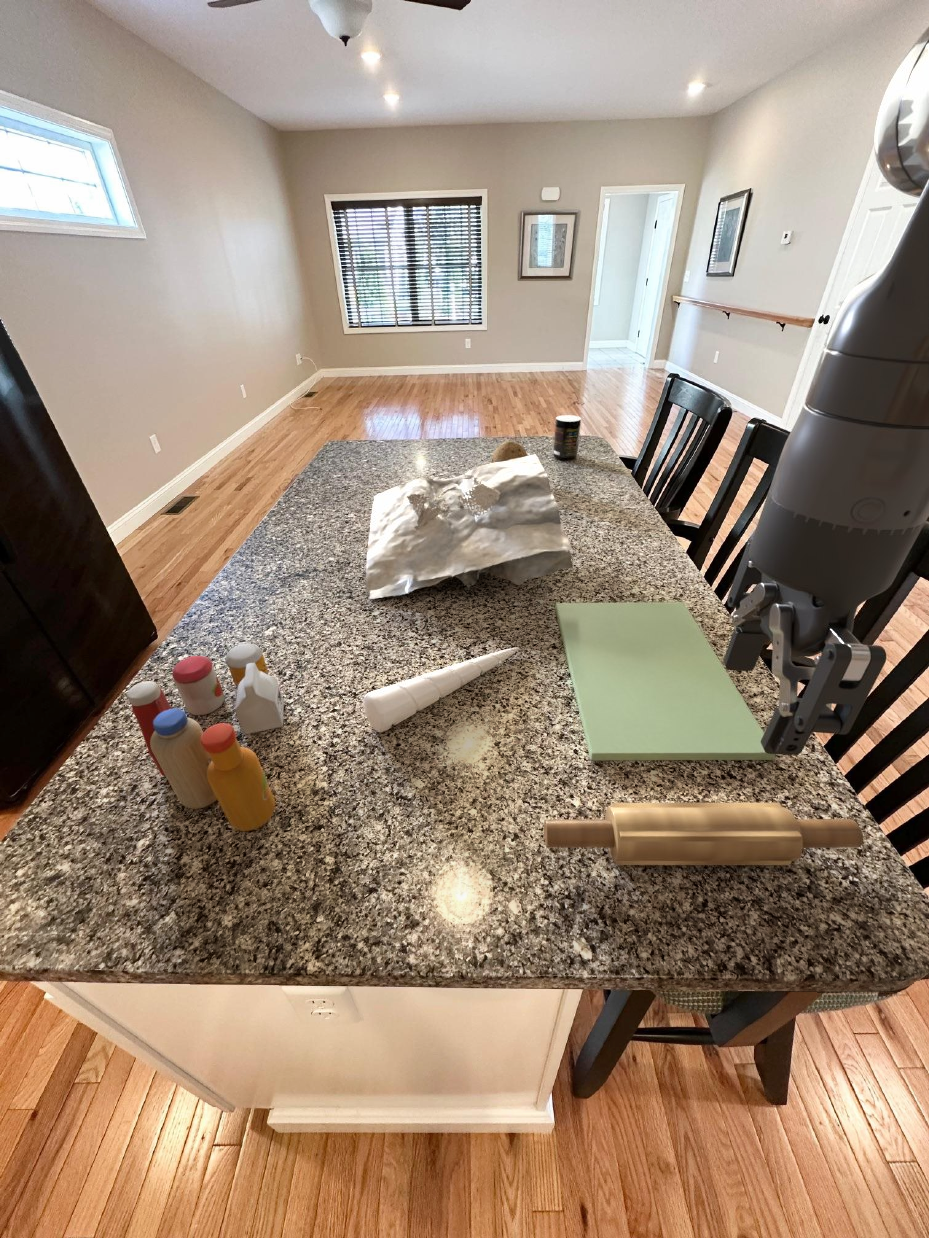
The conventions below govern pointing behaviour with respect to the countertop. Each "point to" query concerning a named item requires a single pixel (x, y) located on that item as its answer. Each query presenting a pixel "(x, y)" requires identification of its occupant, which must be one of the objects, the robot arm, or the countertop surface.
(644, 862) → the rolling pin
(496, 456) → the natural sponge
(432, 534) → the white terrain model
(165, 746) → the toy food
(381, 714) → the unicorn horn
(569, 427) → the supplement container
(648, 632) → the pastry board
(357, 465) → the countertop surface
